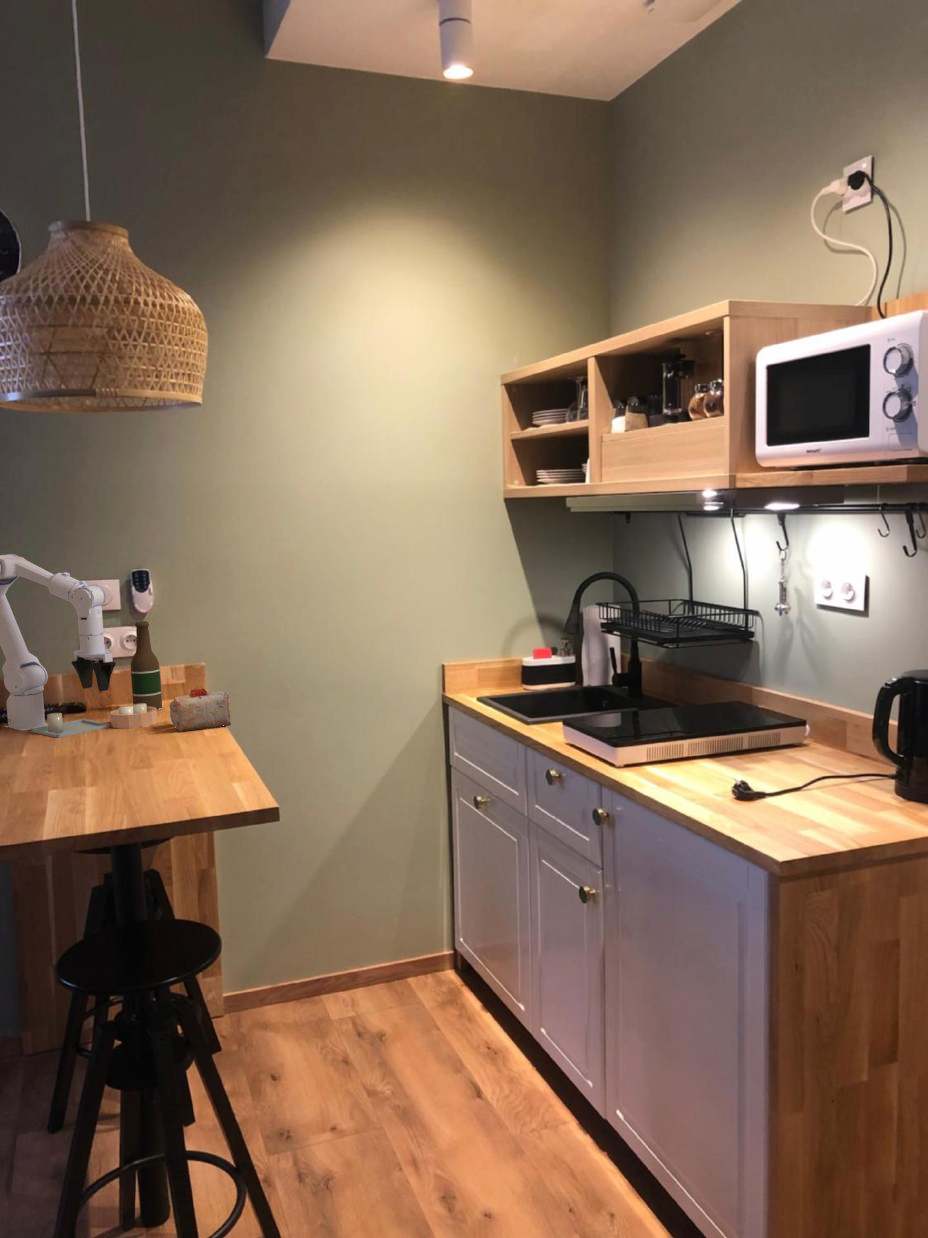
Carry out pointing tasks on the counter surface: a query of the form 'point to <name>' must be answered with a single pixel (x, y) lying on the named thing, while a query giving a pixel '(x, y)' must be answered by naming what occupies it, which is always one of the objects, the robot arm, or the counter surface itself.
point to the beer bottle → (145, 670)
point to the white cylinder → (55, 723)
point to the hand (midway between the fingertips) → (95, 689)
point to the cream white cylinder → (126, 710)
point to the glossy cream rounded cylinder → (139, 708)
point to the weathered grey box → (200, 710)
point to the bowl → (133, 719)
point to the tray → (73, 728)
